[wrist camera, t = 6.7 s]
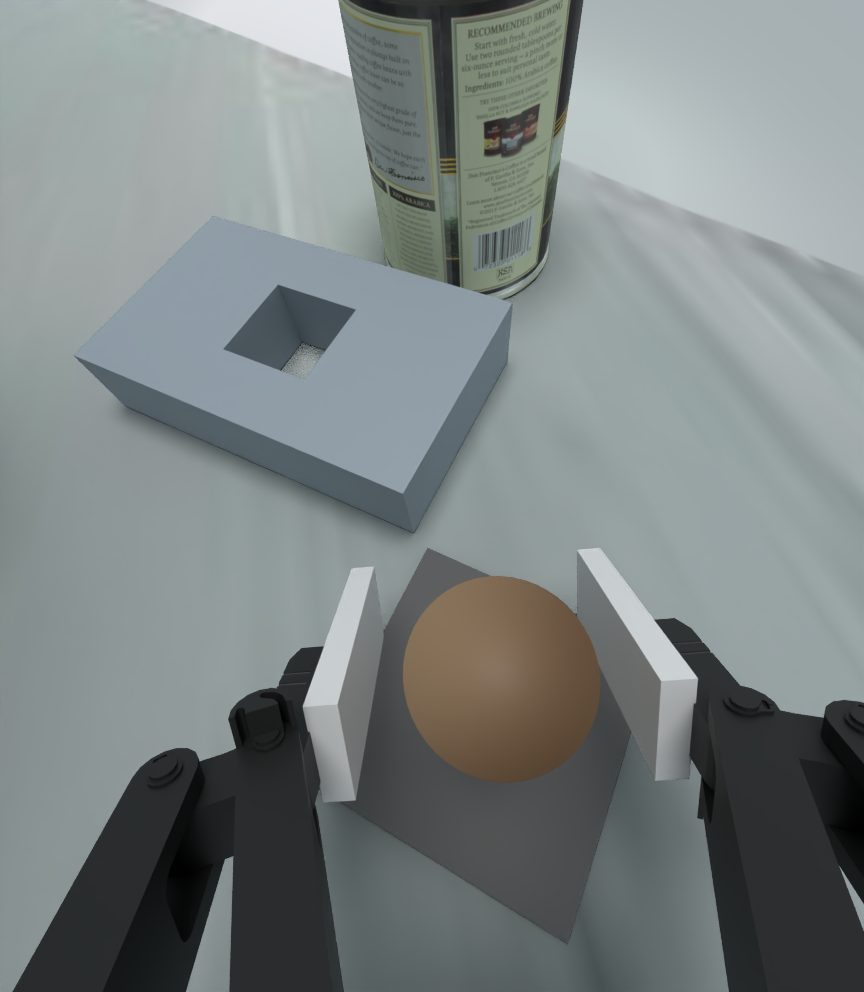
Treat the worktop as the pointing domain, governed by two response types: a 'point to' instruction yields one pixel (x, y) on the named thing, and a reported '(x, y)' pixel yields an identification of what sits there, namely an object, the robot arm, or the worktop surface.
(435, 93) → the coffee can
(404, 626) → the mat
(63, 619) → the worktop surface
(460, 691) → the dowel
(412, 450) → the socket board
